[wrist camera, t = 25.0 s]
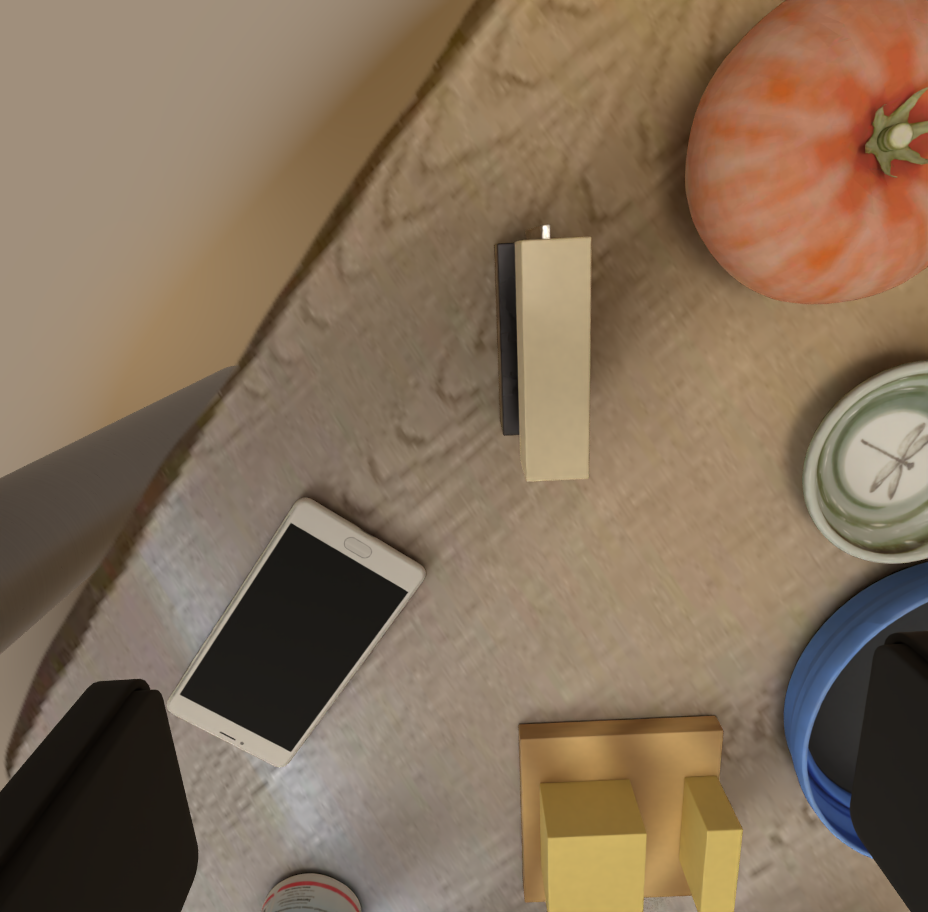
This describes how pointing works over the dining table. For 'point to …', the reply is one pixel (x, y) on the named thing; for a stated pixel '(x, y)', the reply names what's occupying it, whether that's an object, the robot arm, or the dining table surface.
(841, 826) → the bowl
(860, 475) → the saucer
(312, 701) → the smartphone
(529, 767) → the board
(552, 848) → the butter block
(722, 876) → the butter slice
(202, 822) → the dining table surface
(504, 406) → the knife holder
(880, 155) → the tomato
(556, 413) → the knife
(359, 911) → the pill bottle
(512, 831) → the dining table surface
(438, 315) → the dining table surface
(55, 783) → the robot arm
